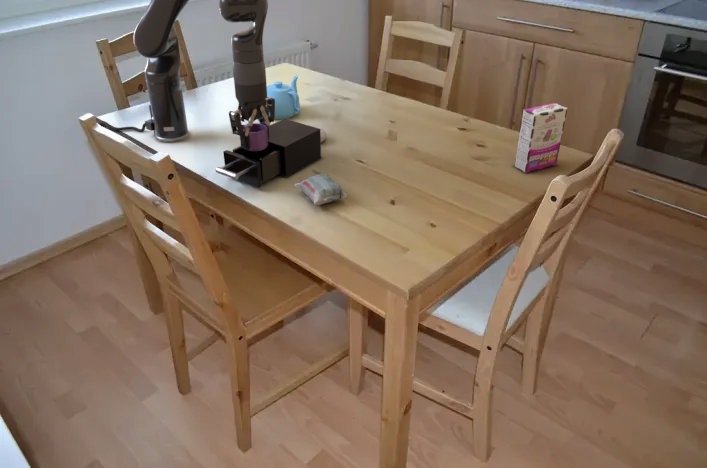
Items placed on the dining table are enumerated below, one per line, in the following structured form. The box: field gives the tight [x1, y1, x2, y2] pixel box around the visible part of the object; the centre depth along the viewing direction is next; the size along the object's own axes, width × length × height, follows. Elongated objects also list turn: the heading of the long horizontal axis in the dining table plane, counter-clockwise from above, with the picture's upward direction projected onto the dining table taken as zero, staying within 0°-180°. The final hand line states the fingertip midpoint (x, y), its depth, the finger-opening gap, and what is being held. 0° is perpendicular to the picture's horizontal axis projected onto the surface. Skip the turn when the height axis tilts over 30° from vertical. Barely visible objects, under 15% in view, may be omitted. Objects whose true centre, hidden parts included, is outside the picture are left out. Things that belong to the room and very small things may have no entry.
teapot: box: [267, 75, 302, 120], centre depth 186 cm, size 15×15×10 cm
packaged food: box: [293, 173, 348, 206], centre depth 141 cm, size 9×12×5 cm
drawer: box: [215, 144, 284, 189], centre depth 148 cm, size 19×11×7 cm, turn 145°
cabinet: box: [268, 118, 322, 178], centre depth 157 cm, size 15×13×9 cm
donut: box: [307, 124, 327, 143], centre depth 171 cm, size 10×4×10 cm
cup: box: [243, 122, 268, 151], centre depth 146 cm, size 6×6×5 cm
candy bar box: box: [514, 102, 569, 174], centre depth 155 cm, size 11×5×16 cm, turn 117°
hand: (255, 144), depth 147 cm, fingers closed on cup, 6 cm apart
